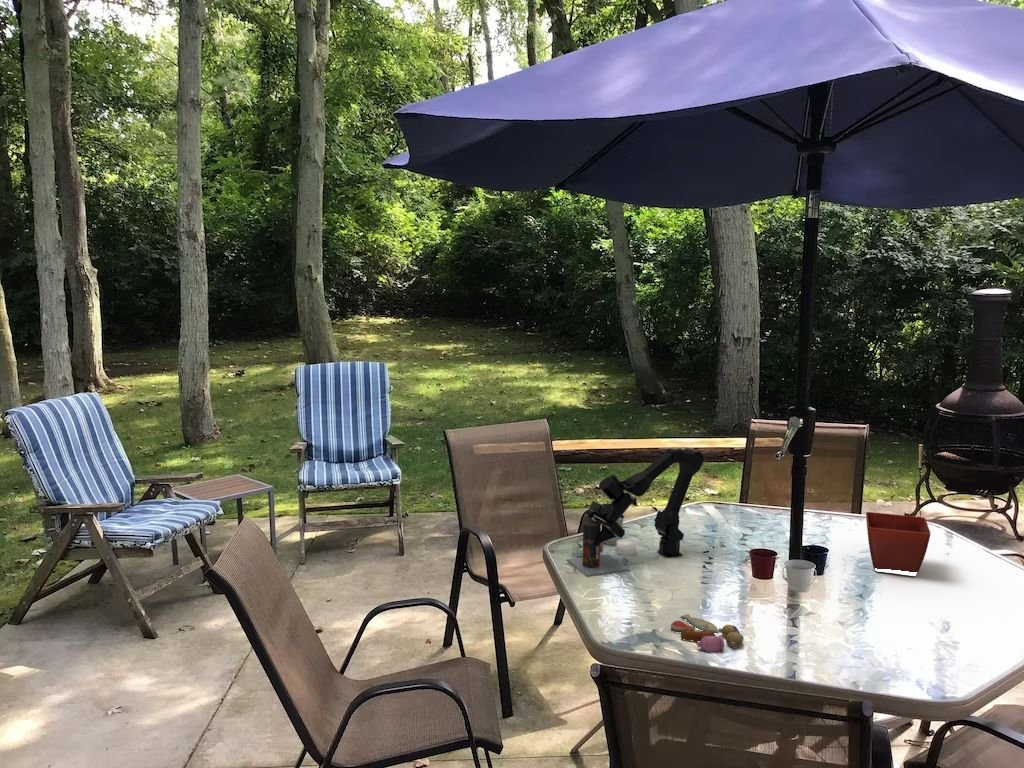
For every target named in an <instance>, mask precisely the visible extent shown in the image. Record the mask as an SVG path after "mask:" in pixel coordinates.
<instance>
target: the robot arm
mask: <svg viewBox="0 0 1024 768" xmlns="http://www.w3.org/2000/svg"><path fill="white" fill-rule="evenodd" d="M704 461H705V457H704V455H703V453H702V452H701V451H699V450H696V449H692V448H689V447H688V448H685V449H677V448H672V447H671V448H668V449H666V450H665V452H664V453H663V454H662V455H660V456H659V457H658V458H657V459H656V460H654V461H653V462H652V463H651V464H650V465H648V466H647V467H646V468H645V469H644V470H642V471H640V472H637V473H634V474H632V475H630V476H629V477H627V478H626V479H625V480H621V481H620V480H619V479H618V477H617V476H616V475H614V474H611V475H610V476H606V477H605V478H603V479H602V480H601V481H600V483H599V484H598V489H599V490H601V492H602V493H603V494H605V496H606V497H607V498H608V499H609V500H611V502H610V503H608V502H607V503H605V502H603V503H600V502H598V501H594V500H591V504H590V505H589V508H587V509H586V511H585V512H584V514H585V516H586V517H587V520H588V521H589V520H593V521H598V522H600V523H601V527H600V533H599V535H598V536H597V537H596V539H595V540H594V542H593V545H597V544H599V543H602V542H603V543H604V541H606V540H609V539H611V538H614V537H615V538H616V536H615V535H617V536H618V537H619V538H621V539H623V537H624V536H625V534H626V530H625V529H624V528H623V526H622V527H621V526H620V525H619V524H618V523H617V521H618V520H619V518H622V519H623V518H624V519H625V515H624V514H625V512H626V511H627V510H628V509H629V507H631V505H632V506H634V507H637V506H638V499H637V497H642V496H644V495H645V494H646V493H647V491H648V490H649V489H650V487H651V484H652V483H653V482H654V480H656V479H657V478H658V477H659V476H660V475H662V474H663V473H664V472H665V471H667V469H669V468H671V466H672V465H673V464H675V463H676V462H678V467H679V472H678V475H677V477H676V479H675V482H674V485H673V488H672V490H671V493H670V496H669V498H668V500H667V504H666V505H665V508H664V509H662V511H661V510H658V511H657V512H656V516H655V517H654V519H653V521H654V524H653V525H654V526H653V527H654V529H655V530H656V531H657V534H658V535H659V536H660V540H659V543H658V544H659V546H658V547H659V550H657V553H659V554H661V555H662V556H664V557H665V558H673V557H678V556H679V557H680V556H683V554H682V553H681V552H680V550H681V549H680V548H681V547H680V546H681V541H683V539H684V536H685V534H684V533H683V532H682V531H681V529H679V528H680V527H679V526H680V511H681V508H682V505H683V502H684V500H685V497H686V496H687V492H688V490H689V486H690V484H691V481H692V479H693V477H694V476H695V474H696V473H698V472H699V471H700V469H701V468H702V466H703V465H704ZM632 496H633V497H632ZM634 496H635V497H634ZM623 515H624V516H623ZM624 519H623V520H624Z"/></svg>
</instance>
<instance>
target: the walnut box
mask: <svg viewBox="0 0 1024 768" xmlns="http://www.w3.org/2000/svg"><path fill="white" fill-rule="evenodd" d="M603 545H604V542H602V543H600V553H603V552H604V551H603V549H604V548H603V547H604V546H603ZM602 551H603V552H602Z"/></svg>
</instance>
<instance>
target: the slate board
mask: <svg viewBox="0 0 1024 768" xmlns="http://www.w3.org/2000/svg"><path fill="white" fill-rule="evenodd" d="M568 561H569V562H570V565H572V566H573V567H575V568H576V569H577V570H578V571H579V572H580V573H582V574H583V575H584V576H585V577H587V578H588V577H595V575H596V576H603V575H609V574H608V573H611V574H617V573H616V572H618V573H625V572H630V568H628V567H627V566H626V565H625V564H623V563H622V562H620V561H619V560H617V559H615V557H613V556H611V555H610V554H608V553H605V554H600V566H599V567H597V568H587V567H584V566H583V556H581V557H574V558H573V557H572V558H567V562H568ZM569 562H568V563H569ZM602 574H603V575H602Z"/></svg>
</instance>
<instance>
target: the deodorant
mask: <svg viewBox="0 0 1024 768" xmlns="http://www.w3.org/2000/svg"><path fill="white" fill-rule="evenodd" d="M582 524H583V526H582V557H583V566H584V567H587V568H597V567H599V566H600V555H601V552H600V543H599V544H597V545H593V542H594V540H595V539H596V537H597V536H598V535H599V533H600V532H601V529H600V528H601V527H602V524H601V523H600V522H598V521H593V520H589V519H588V520H585V521H583V522H582Z"/></svg>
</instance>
